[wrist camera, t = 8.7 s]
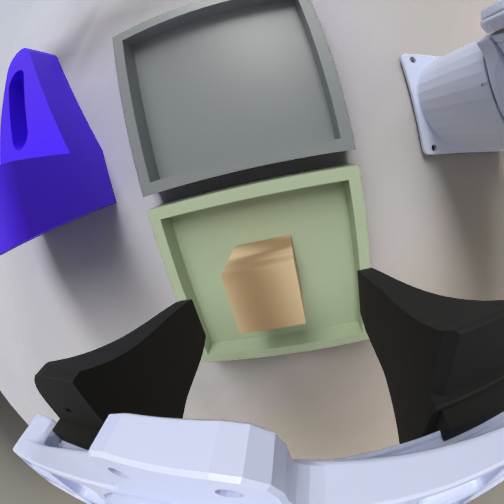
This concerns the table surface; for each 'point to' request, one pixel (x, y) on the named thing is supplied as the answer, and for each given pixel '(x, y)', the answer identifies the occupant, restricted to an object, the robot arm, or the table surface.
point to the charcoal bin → (228, 90)
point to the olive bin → (266, 227)
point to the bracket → (45, 153)
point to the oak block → (264, 285)
